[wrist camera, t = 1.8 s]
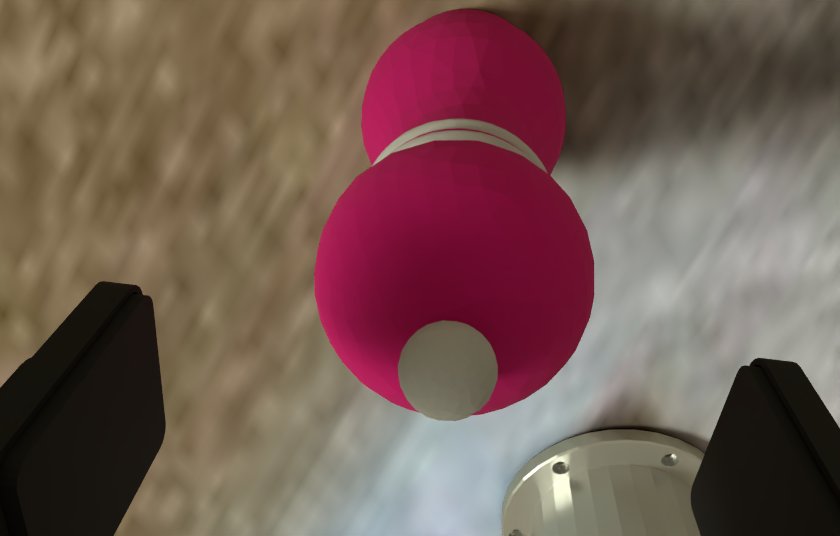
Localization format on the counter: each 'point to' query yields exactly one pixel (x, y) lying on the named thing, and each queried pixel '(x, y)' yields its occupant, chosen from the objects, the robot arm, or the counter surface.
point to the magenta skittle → (457, 225)
